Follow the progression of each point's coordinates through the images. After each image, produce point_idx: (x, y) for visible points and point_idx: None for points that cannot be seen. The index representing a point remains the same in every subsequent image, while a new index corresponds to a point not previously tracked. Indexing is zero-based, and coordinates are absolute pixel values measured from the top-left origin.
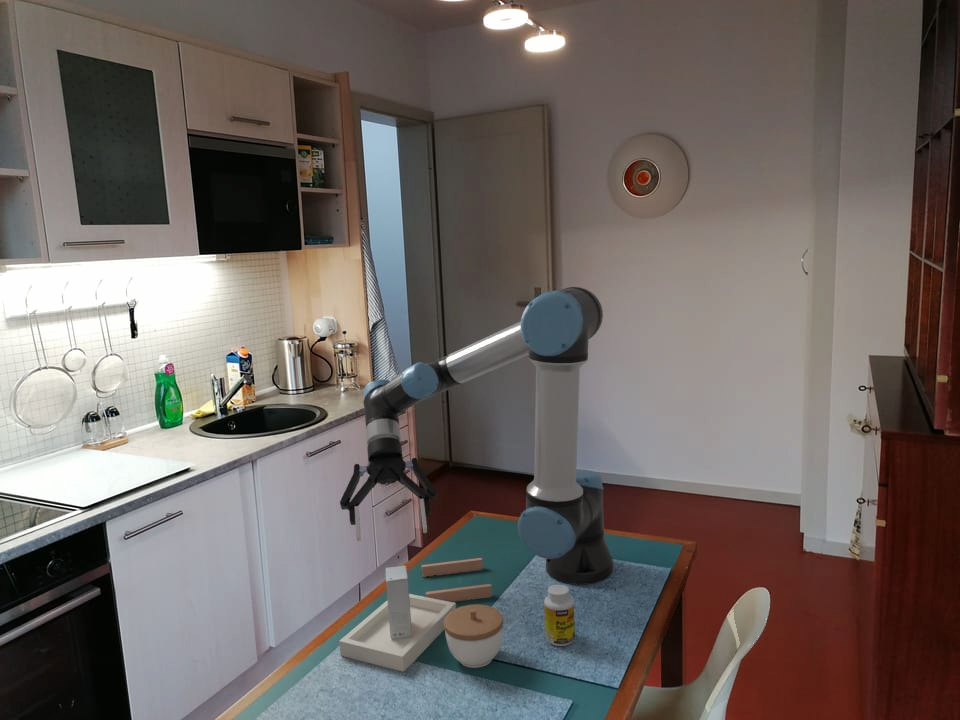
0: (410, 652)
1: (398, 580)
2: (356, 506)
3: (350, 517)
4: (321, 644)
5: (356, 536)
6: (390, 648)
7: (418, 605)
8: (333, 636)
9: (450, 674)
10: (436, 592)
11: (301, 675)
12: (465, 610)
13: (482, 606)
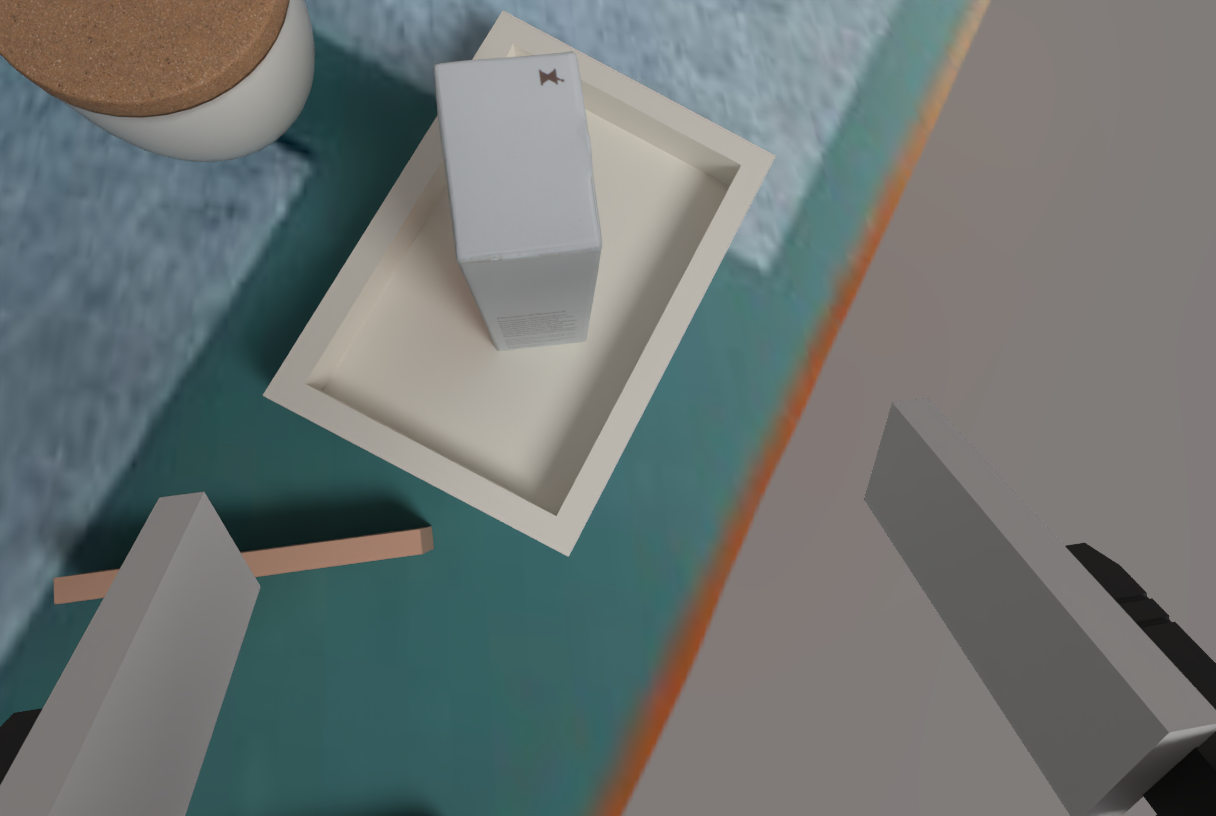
0: None
1: (496, 60)
2: (1192, 723)
3: (1138, 599)
4: (846, 273)
5: (924, 404)
6: None
7: (462, 465)
8: (812, 323)
9: (336, 16)
10: (364, 542)
11: (867, 93)
12: (157, 39)
13: (58, 63)
